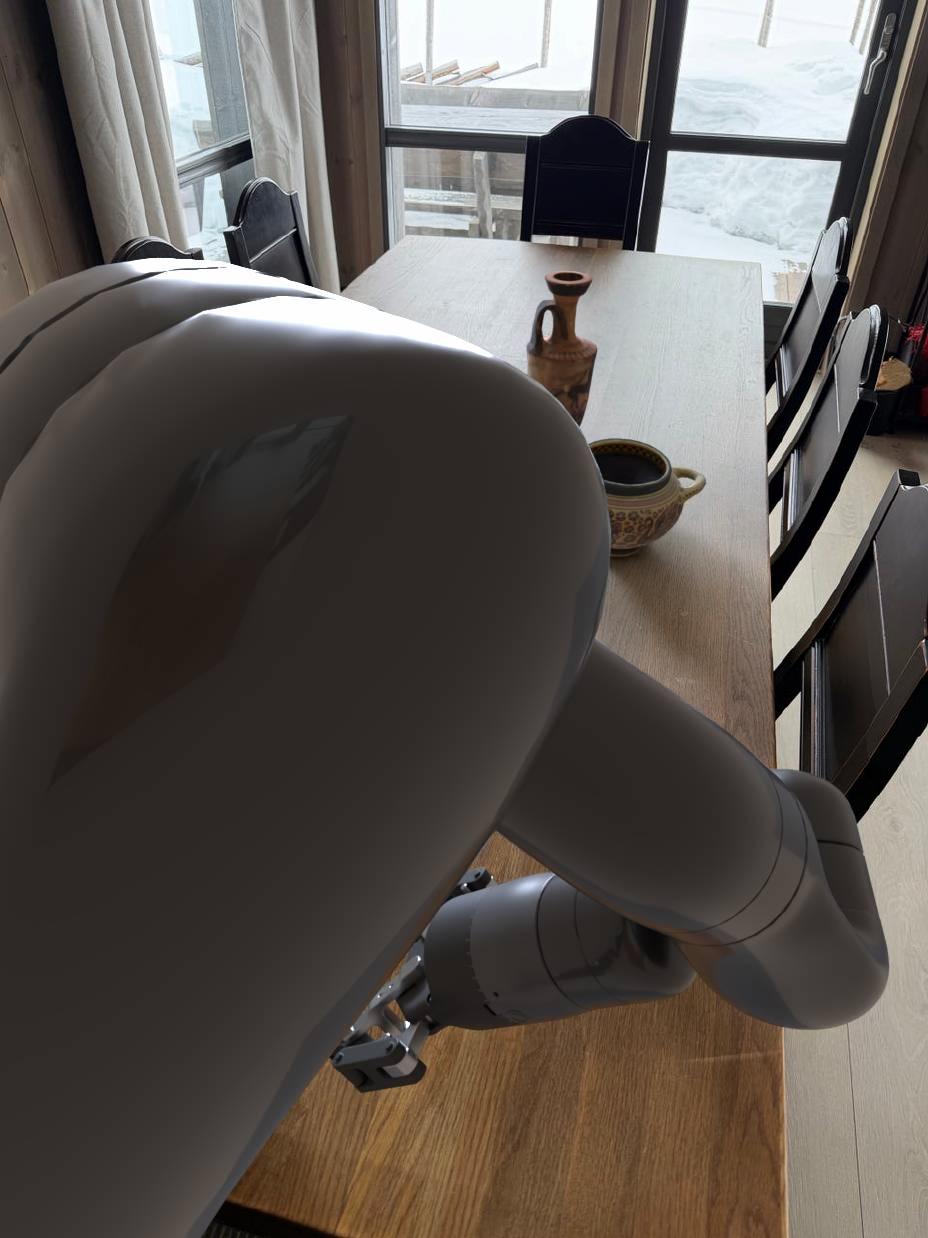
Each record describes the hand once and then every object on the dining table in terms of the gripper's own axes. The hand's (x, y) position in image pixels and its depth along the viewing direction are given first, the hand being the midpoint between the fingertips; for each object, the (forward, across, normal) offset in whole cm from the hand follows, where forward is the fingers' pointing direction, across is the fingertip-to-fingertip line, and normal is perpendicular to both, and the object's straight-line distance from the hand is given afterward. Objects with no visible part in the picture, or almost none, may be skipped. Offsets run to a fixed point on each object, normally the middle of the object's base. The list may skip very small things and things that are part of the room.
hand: (358, 985), depth 59 cm
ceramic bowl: (+10, -80, +5) cm, 81 cm away
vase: (+21, -100, -7) cm, 102 cm away
